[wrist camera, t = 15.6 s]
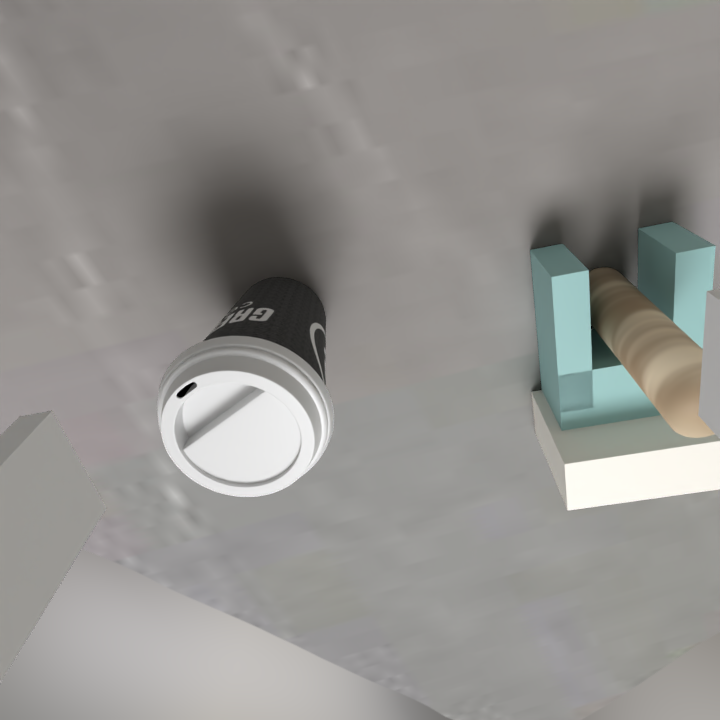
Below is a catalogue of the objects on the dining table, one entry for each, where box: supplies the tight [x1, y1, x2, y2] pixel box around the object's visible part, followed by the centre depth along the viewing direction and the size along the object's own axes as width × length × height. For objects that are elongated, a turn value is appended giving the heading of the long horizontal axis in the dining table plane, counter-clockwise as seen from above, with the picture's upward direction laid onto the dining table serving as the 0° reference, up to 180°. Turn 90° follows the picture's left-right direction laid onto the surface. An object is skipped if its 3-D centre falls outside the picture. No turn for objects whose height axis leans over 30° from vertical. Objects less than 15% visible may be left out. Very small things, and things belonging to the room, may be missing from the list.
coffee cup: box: [157, 278, 334, 497], centre depth 35 cm, size 10×10×15 cm
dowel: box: [589, 267, 714, 438], centre depth 34 cm, size 4×4×15 cm
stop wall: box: [531, 390, 720, 510], centre depth 41 cm, size 4×11×9 cm, turn 102°
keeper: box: [530, 222, 715, 431], centre depth 39 cm, size 12×9×6 cm
